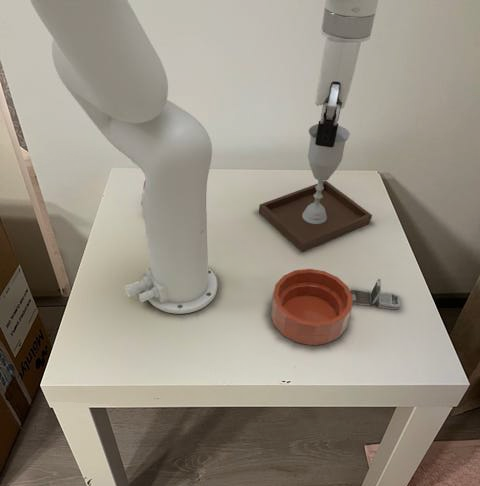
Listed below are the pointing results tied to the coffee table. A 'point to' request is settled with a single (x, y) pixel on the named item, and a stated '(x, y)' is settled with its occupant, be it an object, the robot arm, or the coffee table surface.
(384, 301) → the strap clip
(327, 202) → the tray
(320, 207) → the chalice
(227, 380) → the coffee table surface
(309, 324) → the bowl
